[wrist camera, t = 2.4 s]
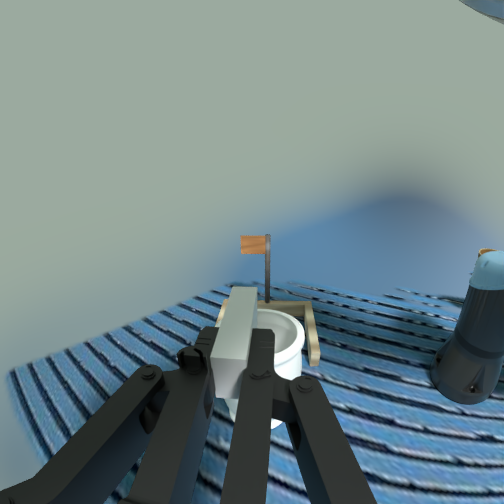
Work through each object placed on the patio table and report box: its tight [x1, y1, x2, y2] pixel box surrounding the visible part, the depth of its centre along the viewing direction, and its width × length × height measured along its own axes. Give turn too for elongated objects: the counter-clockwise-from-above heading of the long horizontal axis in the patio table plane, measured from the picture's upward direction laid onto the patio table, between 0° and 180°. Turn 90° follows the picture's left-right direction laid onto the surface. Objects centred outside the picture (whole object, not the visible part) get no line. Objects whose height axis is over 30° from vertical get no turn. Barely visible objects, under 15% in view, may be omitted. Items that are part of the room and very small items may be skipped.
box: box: [216, 234, 320, 366], centre depth 50 cm, size 18×19×18 cm
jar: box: [215, 309, 305, 429], centre depth 33 cm, size 11×10×15 cm
